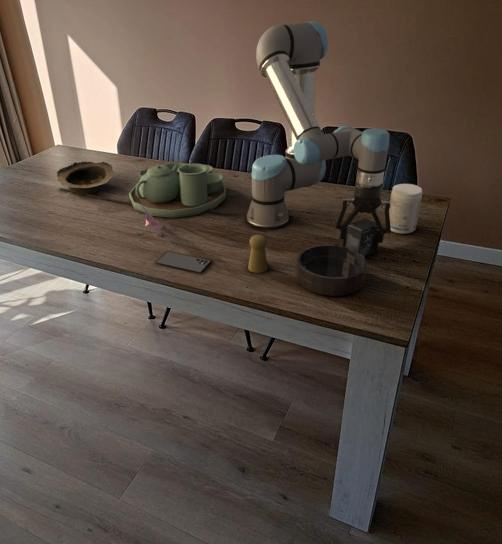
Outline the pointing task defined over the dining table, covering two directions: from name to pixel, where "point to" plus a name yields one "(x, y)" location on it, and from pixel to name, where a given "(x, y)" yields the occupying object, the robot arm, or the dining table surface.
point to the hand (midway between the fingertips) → (359, 249)
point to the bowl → (331, 269)
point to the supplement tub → (404, 208)
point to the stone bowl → (85, 176)
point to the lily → (151, 221)
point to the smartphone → (183, 262)
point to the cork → (258, 254)
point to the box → (362, 236)
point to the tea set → (178, 190)
